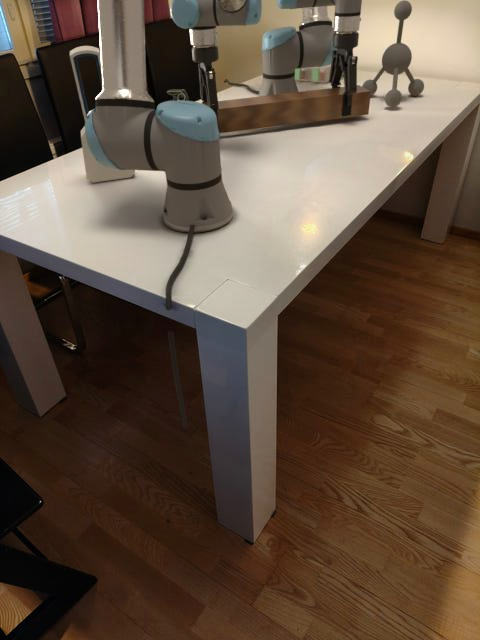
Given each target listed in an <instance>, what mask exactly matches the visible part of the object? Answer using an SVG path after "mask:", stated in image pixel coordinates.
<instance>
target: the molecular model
mask: <svg viewBox="0 0 480 640" xmlns="http://www.w3.org/2000/svg"><path fill="white" fill-rule="evenodd" d="M412 6H413V5H412V4H411V2H410V1H408V0H401V1H399V2H398V3H396V5H395V7H394V9H393V10H394V11H393V14H394V18H395V19H396V20H398V28H397V34H396V35H397V36H396V42H395V43H391V45H389V46H387V48H386V49H385V50H384V52H383V53H382V57H381V66H382V67H381V68H380V70H379V71H378V72H377V73H376V75H375V76H374V79H367V80H366V81H364V82H363V83H362V85H361V86H362V87H364V88H366V89H368V90H370V91H371V96H370V97H372V96H373V95H375V94H376V93H377V91H378V83H377V82H378V81H379V79H380V78H381V76H382V75H383V74H384V72H386V73H387V74H389V75H391V76H393V77H392V87H391V90H388V91H387V92H386V94H385V97H384V102H385V104H386V105H387V107H390V108H396V107H398V106H399V105H400V104H401V102H402V100H403V95H402V92H401V91H400V90H399V89H398V81H399V75H401V74H404V73H405V75H406V77H407V78H408V81H409V83H408V88H407V89H408V90H407V91H408V93H409V94H410V95H411V96H413V97H415V96H419V95H421V94H422V93H423V91H424V89H425V83H424V81H423V80H422V79H420V78H414V76H413V74H412V73H411V71H410V69H409V67H410V65H411V63H412V59H413V54H412V51H411V49H410V47H409V46H408V45H407V44H405V43H403V42H402V37H403V31H404V23H405V20H407V19H409V18H410V16H411V14H412V11H413V7H412Z"/></svg>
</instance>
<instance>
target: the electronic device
mask: <svg viewBox="0 0 480 640" xmlns="http://www.w3.org/2000/svg"><path fill="white" fill-rule="evenodd" d="M82 57H93V58H94V59H95V62H96V67H97V72H98V77H99V81H100V82H99V83H100V87H101V90H102V89H103V86H102V69H101V51H100V47H99V48H98V47H96V46H92V45H81V46H77V47H75V48H73V49H71V50H69V60H70V63H71V67H72V72H73V76H74V80H75V84H76V89H77V94H78V97H79V98H78V99H79V102H80V105H81V110H82V115H83V119H84V122H85V121H86V120H87V114H88V113H89V112H90V110H89V106H88V101H87V98H86V93H85V89H84V84H83V80H82V75H81V70H80V65H79V62H78V59H79V58H82ZM80 141H81V148H82V155H83V162H84V163H83V164H84V170H85V177H86V179H87V180H88V181H89V182H91V183H92V184H95V183H101V182H107V181H115V180H122V179H128V178H133V176H134V174H135V173H136V170H119V169H113V168H106V167H104V166H102V165H101V164H99V163H98V162H97V161H96V159H95V157H94V156H93V155H92V153H91V151H90V149H89V146H88V143H87V140H86V134H85V125H84V126H83V127H82V128H81V130H80Z"/></svg>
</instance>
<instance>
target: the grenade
mask: <svg viewBox="0 0 480 640" xmlns="http://www.w3.org/2000/svg"><path fill="white" fill-rule="evenodd" d="M166 94H167V95H170V96H172V97H173V98H172V99H171V101H177V100H185V101H190V100H189V96H188V93H187V92H186V90H185V89H168V90H167V91H166Z"/></svg>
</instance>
